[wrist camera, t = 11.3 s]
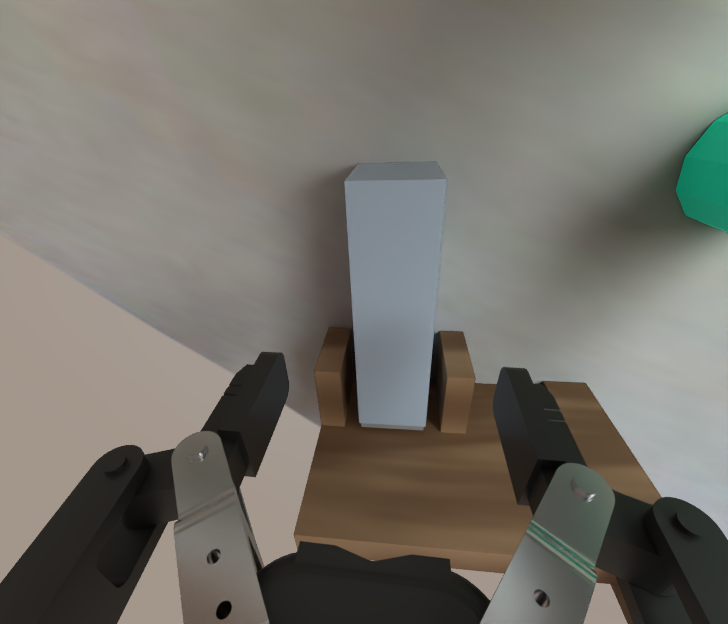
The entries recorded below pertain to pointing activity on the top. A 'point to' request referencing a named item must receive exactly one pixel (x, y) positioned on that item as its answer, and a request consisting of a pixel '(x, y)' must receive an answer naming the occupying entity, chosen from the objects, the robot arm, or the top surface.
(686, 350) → the top surface
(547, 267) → the top surface
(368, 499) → the wooden holder stand
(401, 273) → the light blue rectangular bar
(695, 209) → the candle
